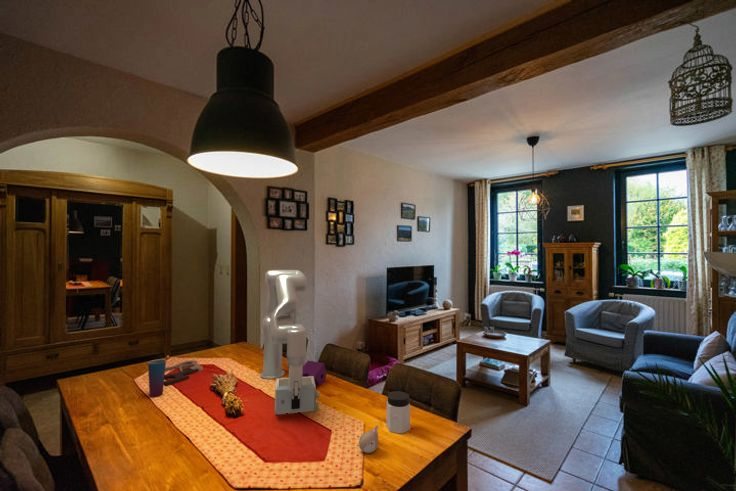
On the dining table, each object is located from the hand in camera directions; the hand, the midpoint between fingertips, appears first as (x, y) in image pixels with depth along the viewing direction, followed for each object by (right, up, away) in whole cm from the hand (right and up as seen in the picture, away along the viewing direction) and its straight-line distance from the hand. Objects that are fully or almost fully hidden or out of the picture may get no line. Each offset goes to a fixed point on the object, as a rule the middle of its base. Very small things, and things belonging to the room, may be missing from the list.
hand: (295, 405), depth 134 cm
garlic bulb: (+29, -4, -23) cm, 37 cm away
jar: (+40, -5, -8) cm, 41 cm away
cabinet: (-1, -4, +8) cm, 9 cm away
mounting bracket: (-1, -5, +30) cm, 31 cm away
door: (0, -2, 0) cm, 2 cm away
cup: (-66, -4, +17) cm, 69 cm away
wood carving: (-71, -5, +46) cm, 84 cm away
